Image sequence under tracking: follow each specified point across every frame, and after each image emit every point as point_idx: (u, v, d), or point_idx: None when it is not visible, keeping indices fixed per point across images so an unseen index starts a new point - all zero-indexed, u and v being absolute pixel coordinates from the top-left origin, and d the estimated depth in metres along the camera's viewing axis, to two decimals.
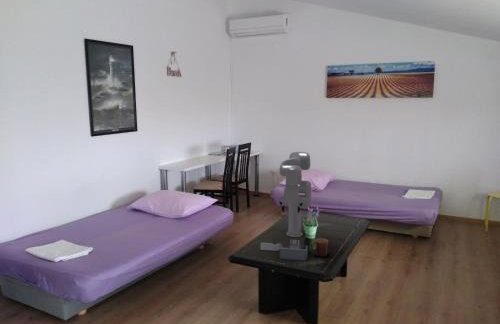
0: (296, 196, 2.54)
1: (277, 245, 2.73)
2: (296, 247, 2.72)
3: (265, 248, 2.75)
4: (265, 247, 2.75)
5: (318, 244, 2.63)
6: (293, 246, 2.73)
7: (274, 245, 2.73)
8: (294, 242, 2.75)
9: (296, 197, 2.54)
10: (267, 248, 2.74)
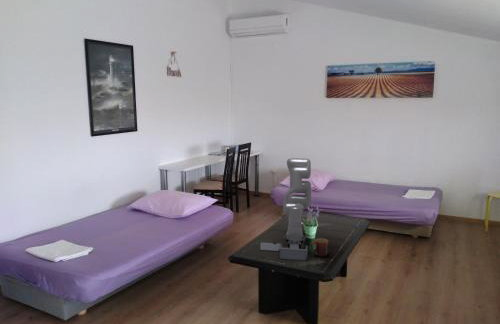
0: (299, 233, 2.72)
1: (277, 245, 2.73)
2: (296, 247, 2.72)
3: (265, 248, 2.75)
4: (265, 247, 2.75)
5: (318, 244, 2.63)
6: (293, 246, 2.72)
7: (274, 245, 2.73)
8: (294, 242, 2.74)
9: (299, 234, 2.72)
10: (267, 248, 2.74)
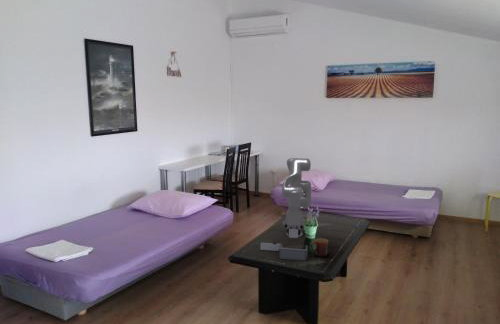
0: (299, 218, 2.59)
1: (277, 245, 2.73)
2: (296, 232, 2.59)
3: (265, 248, 2.75)
4: (265, 247, 2.75)
5: (318, 244, 2.63)
6: (292, 231, 2.60)
7: (274, 245, 2.73)
8: (293, 227, 2.62)
9: (299, 219, 2.59)
10: (267, 248, 2.74)
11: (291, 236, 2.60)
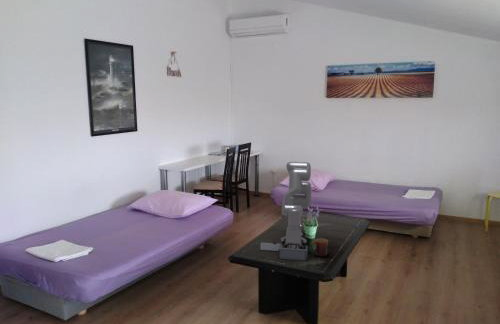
0: (298, 236, 2.61)
1: (277, 245, 2.73)
2: None
3: (265, 248, 2.75)
4: (265, 247, 2.75)
5: (318, 244, 2.63)
6: None
7: (274, 245, 2.73)
8: (293, 248, 2.64)
9: (298, 237, 2.61)
10: (267, 248, 2.74)
11: None
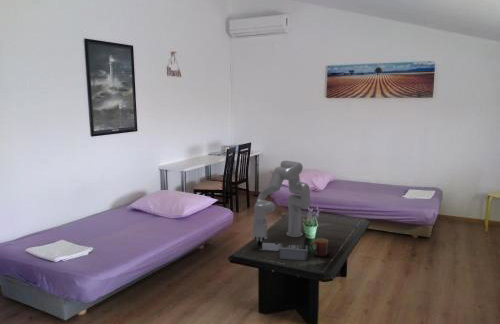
0: (264, 230, 2.72)
1: (279, 245, 2.73)
2: None
3: (267, 248, 2.75)
4: (267, 247, 2.74)
5: (318, 244, 2.63)
6: None
7: (276, 245, 2.73)
8: (293, 248, 2.64)
9: (264, 231, 2.72)
10: (269, 248, 2.74)
11: None
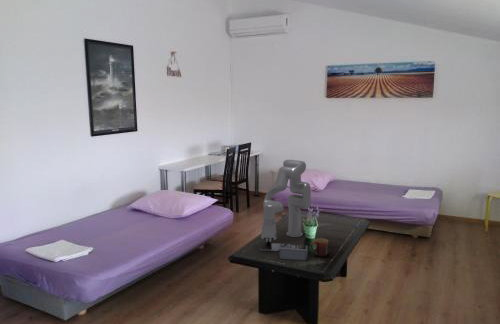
0: (273, 231, 2.70)
1: (288, 246, 2.72)
2: None
3: (276, 249, 2.73)
4: (276, 248, 2.73)
5: (318, 244, 2.63)
6: None
7: (285, 246, 2.72)
8: (293, 248, 2.64)
9: (273, 232, 2.71)
10: (278, 249, 2.73)
11: None
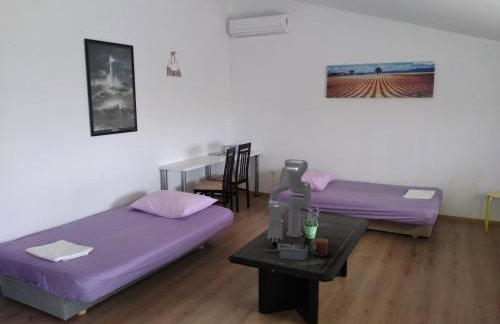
0: (279, 231, 2.70)
1: None
2: None
3: None
4: None
5: (318, 244, 2.63)
6: None
7: None
8: (293, 248, 2.64)
9: (279, 232, 2.70)
10: None
11: None
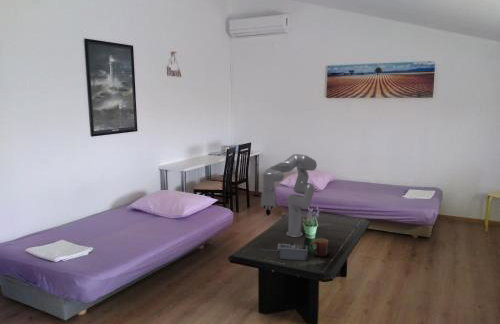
0: (273, 198, 2.75)
1: None
2: None
3: None
4: None
5: (318, 244, 2.63)
6: None
7: None
8: (293, 248, 2.64)
9: (273, 199, 2.75)
10: None
11: None
